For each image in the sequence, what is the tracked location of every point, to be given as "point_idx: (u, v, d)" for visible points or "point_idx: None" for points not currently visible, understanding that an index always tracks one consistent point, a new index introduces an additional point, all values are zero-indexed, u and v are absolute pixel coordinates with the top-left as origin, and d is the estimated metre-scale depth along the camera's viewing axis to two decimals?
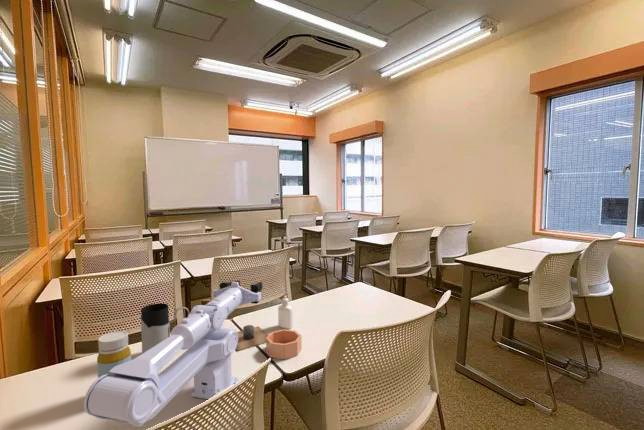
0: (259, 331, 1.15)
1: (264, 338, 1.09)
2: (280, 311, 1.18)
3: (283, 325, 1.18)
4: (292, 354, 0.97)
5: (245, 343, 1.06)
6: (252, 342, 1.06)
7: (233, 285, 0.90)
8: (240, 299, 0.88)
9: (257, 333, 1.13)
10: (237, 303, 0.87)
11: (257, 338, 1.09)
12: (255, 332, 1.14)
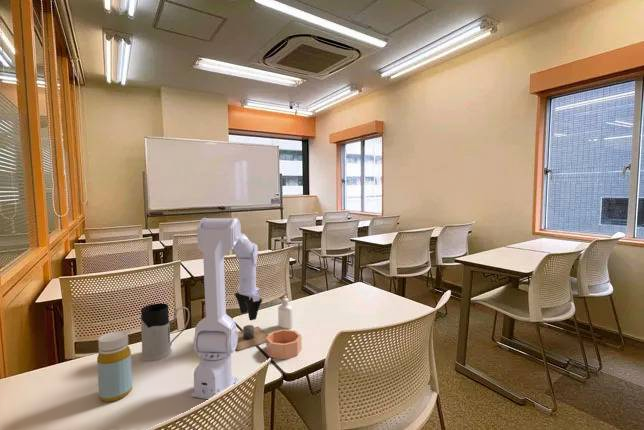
0: (259, 331, 1.15)
1: (264, 338, 1.09)
2: (280, 311, 1.18)
3: (283, 325, 1.18)
4: (292, 354, 0.97)
5: (245, 343, 1.06)
6: (253, 342, 1.06)
7: (256, 288, 1.11)
8: (251, 286, 1.06)
9: (257, 333, 1.13)
10: (249, 281, 1.06)
11: (257, 338, 1.09)
12: (255, 332, 1.14)
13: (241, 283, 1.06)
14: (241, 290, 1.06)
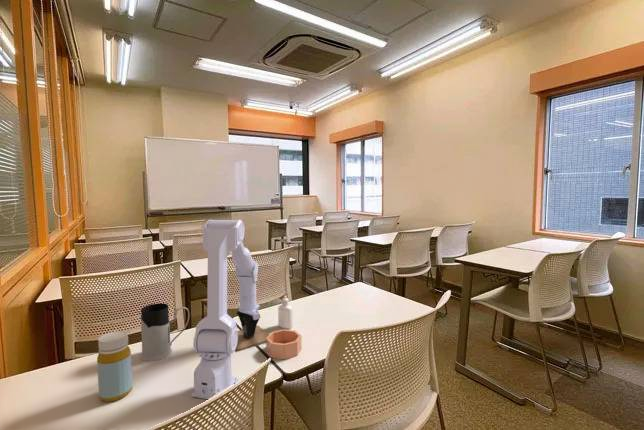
0: (259, 330, 1.15)
1: (264, 337, 1.09)
2: (280, 311, 1.18)
3: (283, 325, 1.18)
4: (292, 354, 0.97)
5: (245, 342, 1.06)
6: (253, 341, 1.06)
7: None
8: (251, 304, 1.07)
9: (257, 332, 1.13)
10: (250, 299, 1.07)
11: (257, 337, 1.09)
12: (255, 331, 1.14)
13: (241, 301, 1.07)
14: (241, 308, 1.07)
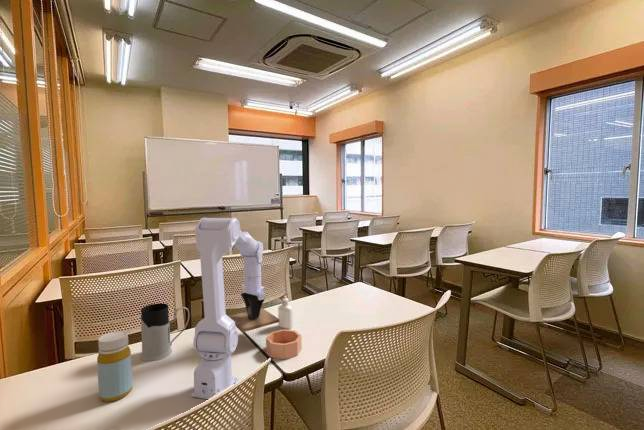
0: (264, 312, 1.13)
1: (269, 318, 1.07)
2: (280, 311, 1.18)
3: (283, 325, 1.18)
4: (292, 354, 0.97)
5: (250, 322, 1.04)
6: (257, 321, 1.05)
7: (260, 286, 1.10)
8: (256, 285, 1.05)
9: (261, 314, 1.11)
10: (255, 279, 1.05)
11: (262, 318, 1.07)
12: (260, 313, 1.12)
13: (246, 281, 1.05)
14: (246, 289, 1.05)
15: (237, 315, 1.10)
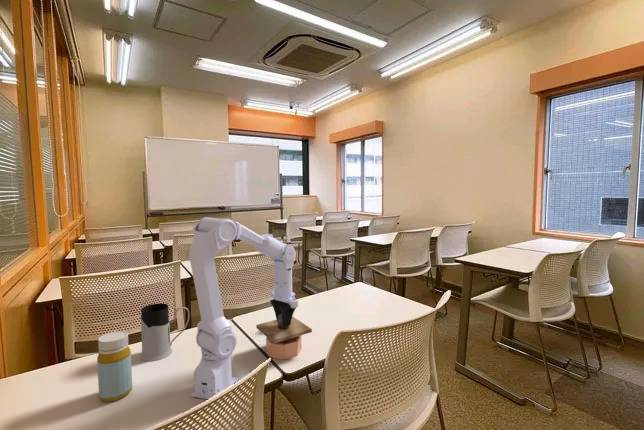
0: (294, 321, 1.05)
1: (301, 328, 1.00)
2: None
3: None
4: (292, 354, 0.97)
5: (281, 332, 0.97)
6: (289, 331, 0.97)
7: None
8: (287, 291, 0.98)
9: (292, 323, 1.04)
10: (286, 285, 0.97)
11: (293, 328, 1.00)
12: None
13: (277, 288, 0.98)
14: (277, 295, 0.98)
15: (266, 324, 1.03)
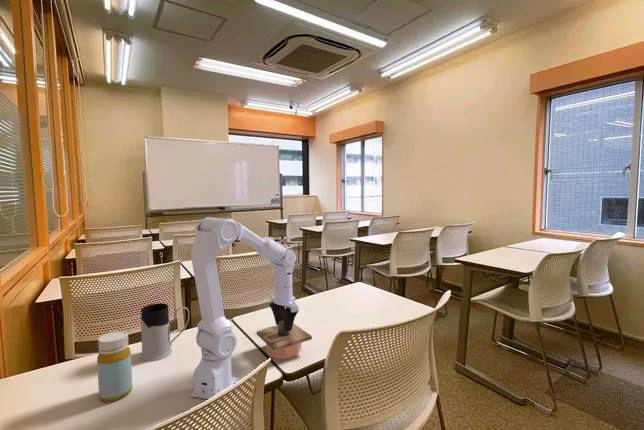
0: (294, 327, 1.06)
1: (301, 335, 1.00)
2: None
3: None
4: (292, 354, 0.97)
5: (281, 339, 0.97)
6: (289, 338, 0.98)
7: (291, 296, 1.02)
8: (287, 295, 0.98)
9: (292, 329, 1.04)
10: (286, 289, 0.98)
11: (293, 335, 1.00)
12: None
13: (277, 292, 0.98)
14: (277, 299, 0.98)
15: (266, 330, 1.03)
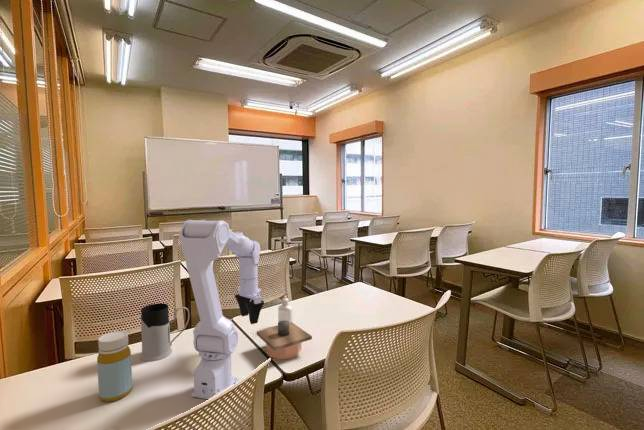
0: (294, 327, 1.06)
1: (301, 335, 1.00)
2: (280, 311, 1.18)
3: None
4: (292, 354, 0.97)
5: (281, 339, 0.97)
6: (289, 338, 0.98)
7: (257, 289, 1.03)
8: (252, 287, 0.99)
9: (292, 329, 1.04)
10: (250, 281, 0.98)
11: (293, 335, 1.00)
12: (290, 328, 1.05)
13: (241, 284, 0.99)
14: (241, 291, 0.99)
15: (266, 330, 1.03)
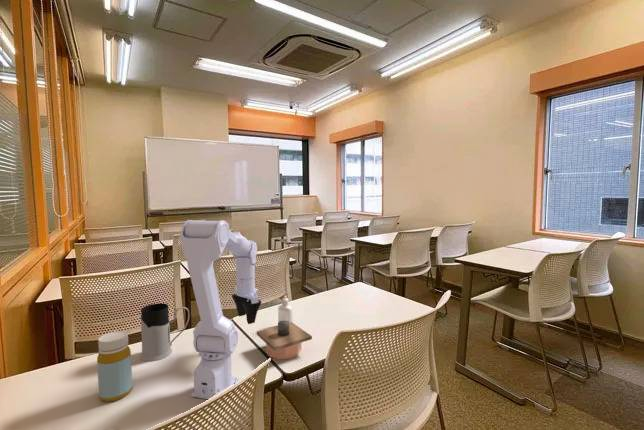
0: (294, 327, 1.06)
1: (301, 335, 1.00)
2: (280, 311, 1.18)
3: None
4: (292, 354, 0.97)
5: (281, 339, 0.97)
6: (289, 338, 0.98)
7: (254, 289, 1.03)
8: (249, 287, 0.99)
9: (292, 329, 1.04)
10: (248, 281, 0.98)
11: (293, 335, 1.00)
12: (290, 328, 1.05)
13: (239, 284, 0.99)
14: (239, 291, 0.99)
15: (266, 330, 1.03)
